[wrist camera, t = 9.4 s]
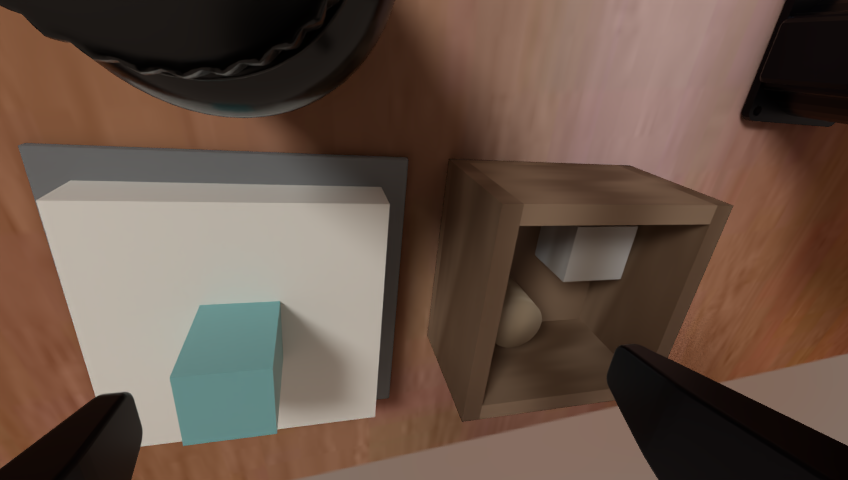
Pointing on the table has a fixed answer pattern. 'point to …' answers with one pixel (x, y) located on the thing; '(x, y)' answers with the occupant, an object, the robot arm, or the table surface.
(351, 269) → the lid
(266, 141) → the table surface
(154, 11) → the supplement bottle
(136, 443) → the robot arm
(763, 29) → the table surface
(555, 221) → the parts box
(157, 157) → the mat
